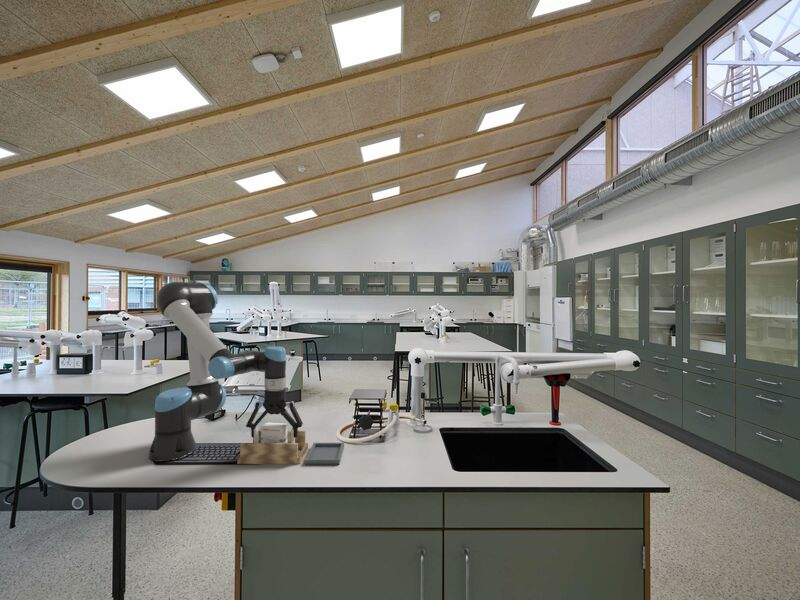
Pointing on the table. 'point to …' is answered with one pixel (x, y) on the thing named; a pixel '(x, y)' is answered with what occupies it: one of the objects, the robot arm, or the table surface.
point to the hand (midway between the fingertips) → (274, 445)
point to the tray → (325, 454)
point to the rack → (274, 451)
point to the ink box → (274, 433)
